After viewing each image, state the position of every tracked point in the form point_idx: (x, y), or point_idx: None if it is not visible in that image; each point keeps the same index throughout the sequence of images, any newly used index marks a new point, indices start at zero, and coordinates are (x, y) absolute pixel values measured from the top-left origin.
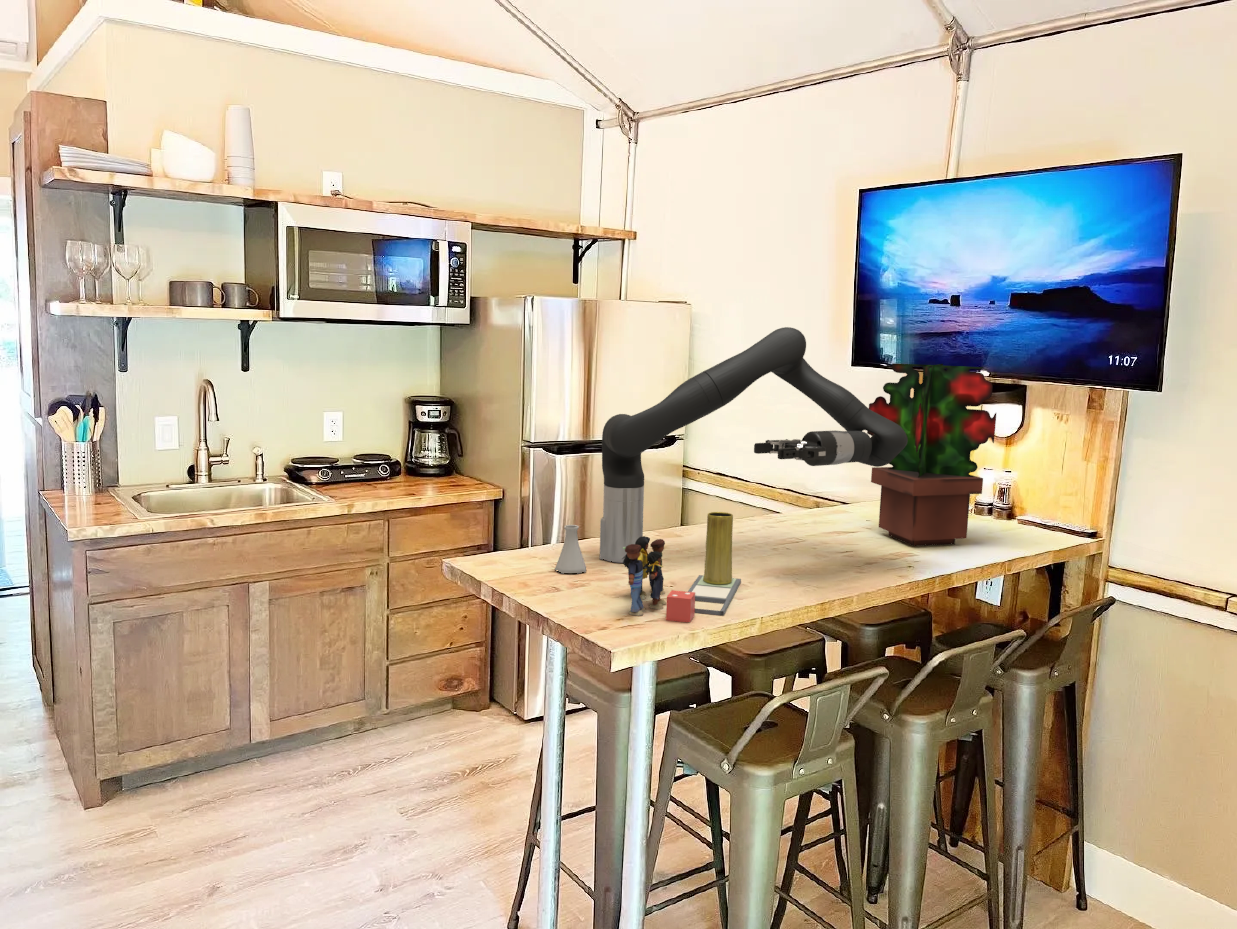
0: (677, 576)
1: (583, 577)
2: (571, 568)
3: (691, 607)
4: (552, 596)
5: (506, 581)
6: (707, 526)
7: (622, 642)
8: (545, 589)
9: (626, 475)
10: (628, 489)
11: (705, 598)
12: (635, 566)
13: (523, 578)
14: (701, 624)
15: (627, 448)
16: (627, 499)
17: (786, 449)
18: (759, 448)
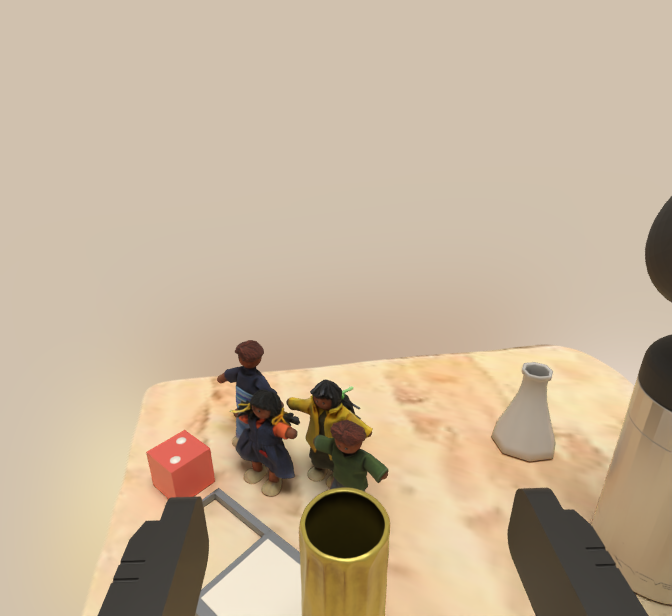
0: (456, 609)
1: (472, 444)
2: (496, 426)
3: (154, 470)
4: (374, 389)
5: (462, 369)
6: (361, 521)
7: (158, 395)
8: (411, 390)
9: (659, 353)
10: (639, 389)
11: (234, 561)
12: (235, 371)
13: (476, 384)
14: (133, 497)
15: (651, 267)
16: (631, 412)
17: (152, 555)
18: (527, 543)
